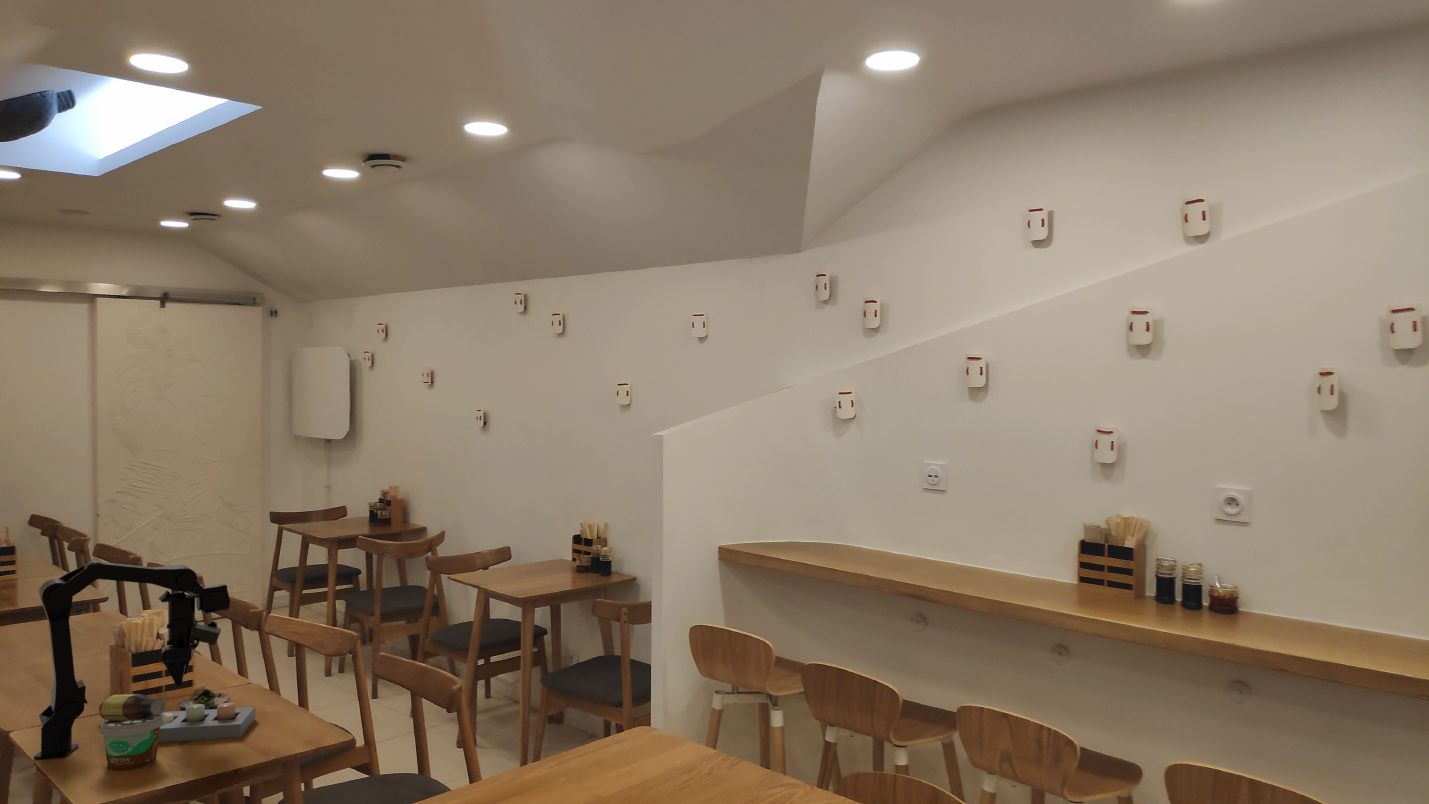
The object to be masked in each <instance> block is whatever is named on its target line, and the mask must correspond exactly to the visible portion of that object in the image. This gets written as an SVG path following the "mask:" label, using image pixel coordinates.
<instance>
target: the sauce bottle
mask: <svg viewBox="0 0 1429 804" xmlns="http://www.w3.org/2000/svg"><path fill="white" fill-rule="evenodd" d="M166 709H167V702H166V700H164V699H163V698H159V697H158V698H151V697H150V696H148V695H147V694H143V693H142V694H141V693H136V694H135V693H132V694H131V693H129V694H113V695H109V696H107V697H105V698H104V699H103V700H102V701H101V702H100V705H99V706H98V712H99V716H100V718H102V719H103V720H104V719H105V721H111V722H112V721H113V722H123V721H127V720H143V719H144V718H145V717H147V716H149V715H152V716H158V715H161V714H162V713H163V712H166Z"/></svg>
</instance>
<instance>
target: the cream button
mask: <svg viewBox="0 0 1429 804" xmlns="http://www.w3.org/2000/svg"><path fill="white" fill-rule="evenodd" d="M159 716H160V715H158V716H155V717H154V719H155V718H157V717H159ZM161 718H163V723H172V722H173V714H170V713H167V714H161Z"/></svg>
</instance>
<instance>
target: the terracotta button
mask: <svg viewBox="0 0 1429 804" xmlns="http://www.w3.org/2000/svg"><path fill="white" fill-rule="evenodd" d="M236 708H237V707H236V703H235V702H225V703H222V704H220V705H218V706H217V707H216V709H217V719H218V720H229V719H232V718H234V717H235V711H236Z"/></svg>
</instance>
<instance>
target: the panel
mask: <svg viewBox="0 0 1429 804" xmlns="http://www.w3.org/2000/svg"><path fill="white" fill-rule="evenodd" d="M167 713H170V714H173V722H172V723H164V724H163V725H162V726H160V731H159V739H158V743H168V742H183V741H184V742H185V741H186V742H188V741H200V740H201V741H202V740H216V739H217V740H218V739H219V740H220V739H233V738H234V739H235V738H241V737H242V736H243V735H244V734H245V732H246V731H247V730H248V729H249V727H250V726H251V725H252V724H253V723H254V722H255V721H256V706H251V707H249V706H247V707H236V711H235V717H234V718H232V719H229V720H218V719H217V708H210V709H207V710H205V718H204V719H203V720H200V721H196V722H187V721H186V711H179V710H178V711H177V710H176V711H164V712H163V713H162V714H167ZM154 717H155V716H152V715H149V716H147V717H145V718H144V719H142V720H153V719H154ZM254 720H255V721H254Z"/></svg>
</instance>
